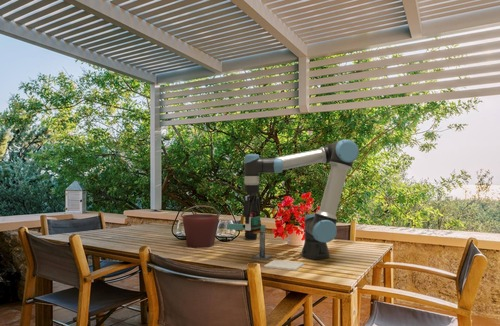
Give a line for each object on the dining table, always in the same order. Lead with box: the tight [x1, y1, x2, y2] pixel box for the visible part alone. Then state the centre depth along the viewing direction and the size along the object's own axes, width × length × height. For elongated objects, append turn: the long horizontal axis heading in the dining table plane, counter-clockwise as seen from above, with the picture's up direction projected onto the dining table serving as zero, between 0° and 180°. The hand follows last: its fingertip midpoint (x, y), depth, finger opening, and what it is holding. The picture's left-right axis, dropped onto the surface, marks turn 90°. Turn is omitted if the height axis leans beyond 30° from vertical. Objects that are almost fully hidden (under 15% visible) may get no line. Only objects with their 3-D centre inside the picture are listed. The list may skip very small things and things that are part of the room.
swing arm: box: [226, 222, 267, 232], centre depth 217 cm, size 22×4×3 cm, turn 73°
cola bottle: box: [244, 208, 258, 241], centre depth 273 cm, size 8×8×30 cm
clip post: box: [251, 231, 273, 261], centre depth 214 cm, size 8×8×14 cm
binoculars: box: [243, 212, 262, 235], centre depth 202 cm, size 9×11×10 cm
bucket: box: [180, 205, 221, 249], centre depth 249 cm, size 24×22×25 cm
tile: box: [263, 259, 305, 272], centre depth 196 cm, size 16×14×1 cm
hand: (251, 229), depth 202 cm, fingers closed on binoculars, 9 cm apart
